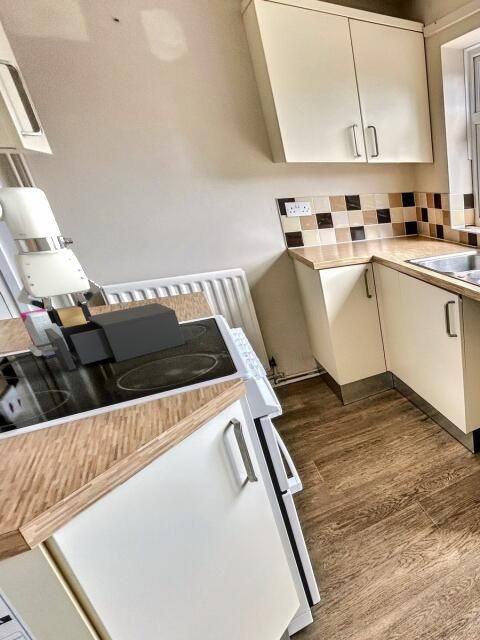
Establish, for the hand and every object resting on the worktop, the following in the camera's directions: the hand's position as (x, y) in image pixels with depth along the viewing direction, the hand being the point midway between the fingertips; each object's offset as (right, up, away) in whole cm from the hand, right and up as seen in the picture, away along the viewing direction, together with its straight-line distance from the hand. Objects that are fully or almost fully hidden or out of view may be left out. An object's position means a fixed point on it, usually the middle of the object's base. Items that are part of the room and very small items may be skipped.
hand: (72, 322), depth 101 cm
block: (0, 0, 0) cm, 0 cm away
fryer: (+7, -6, +12) cm, 15 cm away
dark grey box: (0, -9, +4) cm, 9 cm away
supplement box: (-14, -8, +10) cm, 19 cm away
